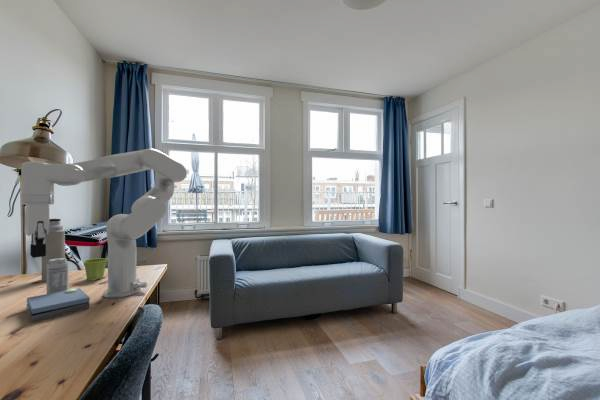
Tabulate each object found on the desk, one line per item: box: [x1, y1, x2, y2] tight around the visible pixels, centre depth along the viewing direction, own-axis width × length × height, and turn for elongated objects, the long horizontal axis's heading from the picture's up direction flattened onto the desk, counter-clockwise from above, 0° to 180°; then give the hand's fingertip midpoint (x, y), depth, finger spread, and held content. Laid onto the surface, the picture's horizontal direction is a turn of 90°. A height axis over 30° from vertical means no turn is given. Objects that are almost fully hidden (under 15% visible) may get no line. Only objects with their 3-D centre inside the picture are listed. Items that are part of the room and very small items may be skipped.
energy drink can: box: [46, 257, 69, 294], centre depth 99 cm, size 6×6×15 cm
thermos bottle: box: [41, 218, 66, 282], centre depth 123 cm, size 8×8×28 cm
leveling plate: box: [26, 288, 91, 314], centre depth 90 cm, size 14×14×2 cm
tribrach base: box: [26, 301, 90, 323], centre depth 90 cm, size 14×14×2 cm
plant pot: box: [82, 257, 108, 281], centre depth 124 cm, size 9×9×9 cm
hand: (38, 255), depth 86 cm, fingers open, 2 cm apart
